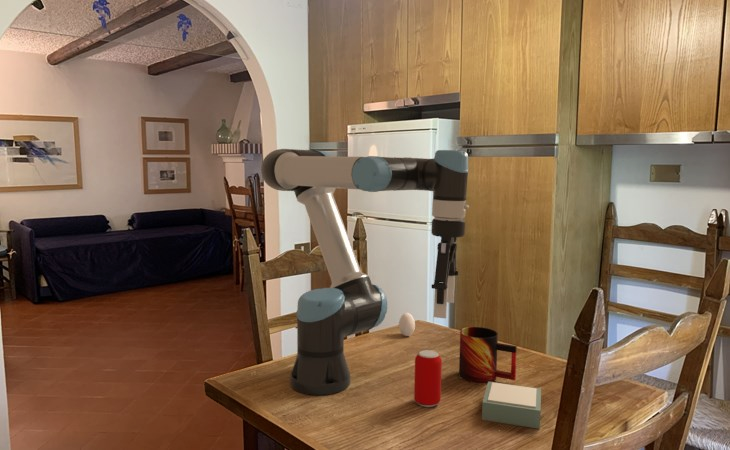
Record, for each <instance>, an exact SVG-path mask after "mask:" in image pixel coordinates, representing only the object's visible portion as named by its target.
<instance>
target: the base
mask: <svg viewBox="0 0 730 450" xmlns="http://www.w3.org/2000/svg"><path fill="white" fill-rule="evenodd" d="M541 402H542V388H540V387H533V386H532V387H531V386H524V385H518V384H517V385H516V384H511V383H510V384H509V383H504V382H503V383H502V382H501V383H500V382H496V381H494V382H489V381H488V383H487V385H486V389H485V392H484V396H483V399H482V407H481V420H483V421H487V422H495V423H501V424H505V425H506V424H508V425H512V426H513V425H514V426H520V427H526V428H531V429H532V428H533V429H537V430H538V429H539V430H540V429H541V427H540V426H541V408H542V407H541V406H542V403H541Z"/></svg>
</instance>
